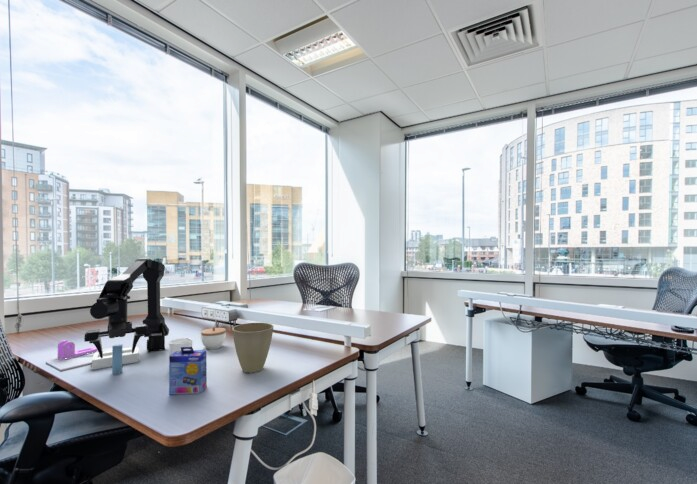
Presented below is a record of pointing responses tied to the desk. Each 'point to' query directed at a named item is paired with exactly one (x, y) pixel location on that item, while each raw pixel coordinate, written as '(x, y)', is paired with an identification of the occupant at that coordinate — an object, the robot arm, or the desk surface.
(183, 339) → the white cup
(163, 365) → the desk surface
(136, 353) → the hole block
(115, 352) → the peg
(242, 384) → the desk surface
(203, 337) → the lidded jar
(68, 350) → the bracket
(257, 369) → the plant pot
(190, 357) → the ink cartridge box
